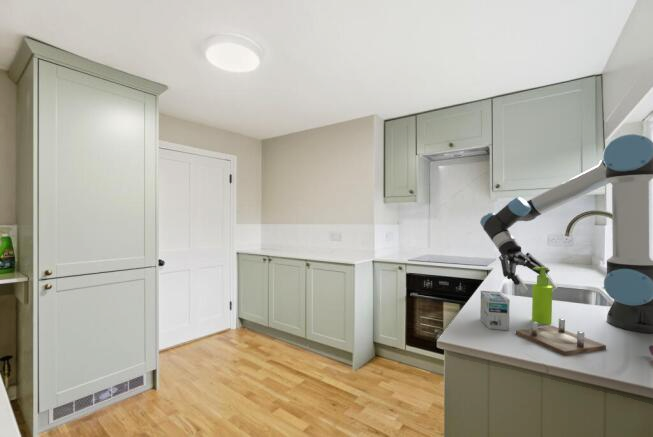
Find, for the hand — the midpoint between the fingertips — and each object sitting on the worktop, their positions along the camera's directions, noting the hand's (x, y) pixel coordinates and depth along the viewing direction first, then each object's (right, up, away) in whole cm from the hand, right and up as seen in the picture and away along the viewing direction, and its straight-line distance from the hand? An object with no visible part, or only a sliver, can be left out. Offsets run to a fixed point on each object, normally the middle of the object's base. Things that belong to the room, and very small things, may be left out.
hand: (540, 290), depth 114 cm
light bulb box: (-19, -11, -3) cm, 22 cm away
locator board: (-6, -12, -17) cm, 22 cm away
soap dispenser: (0, -12, 0) cm, 12 cm away
